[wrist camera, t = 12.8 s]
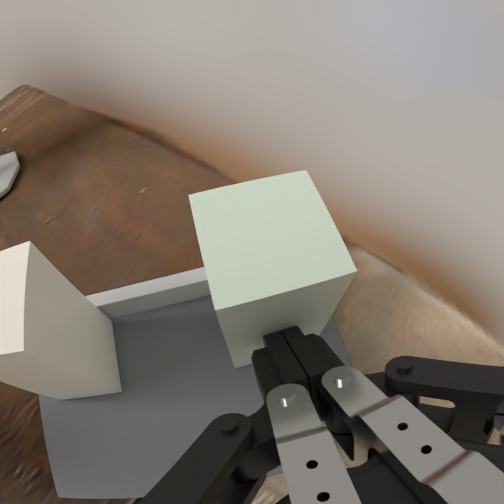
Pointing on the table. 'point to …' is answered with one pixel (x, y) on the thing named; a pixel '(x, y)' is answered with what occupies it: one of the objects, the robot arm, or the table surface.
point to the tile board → (152, 390)
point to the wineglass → (8, 171)
